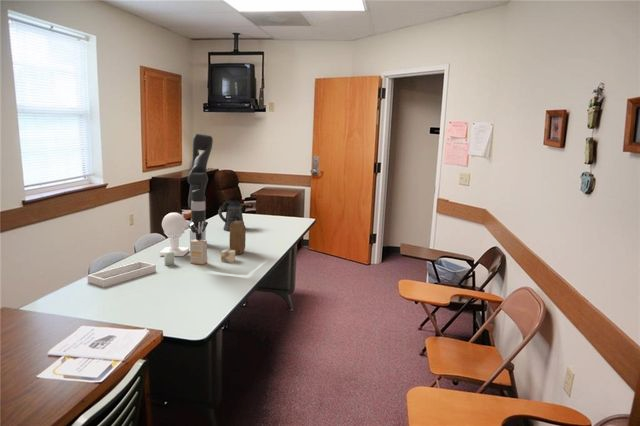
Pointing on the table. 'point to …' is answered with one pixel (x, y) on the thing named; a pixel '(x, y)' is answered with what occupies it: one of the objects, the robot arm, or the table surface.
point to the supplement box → (198, 251)
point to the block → (237, 237)
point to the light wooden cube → (227, 255)
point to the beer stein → (231, 213)
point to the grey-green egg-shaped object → (169, 258)
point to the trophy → (174, 233)
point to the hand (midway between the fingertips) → (198, 239)
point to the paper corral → (99, 276)
